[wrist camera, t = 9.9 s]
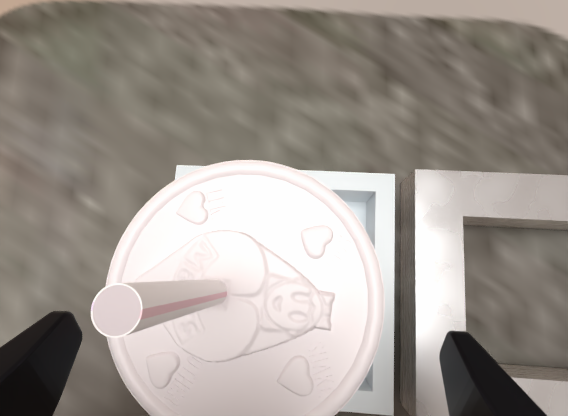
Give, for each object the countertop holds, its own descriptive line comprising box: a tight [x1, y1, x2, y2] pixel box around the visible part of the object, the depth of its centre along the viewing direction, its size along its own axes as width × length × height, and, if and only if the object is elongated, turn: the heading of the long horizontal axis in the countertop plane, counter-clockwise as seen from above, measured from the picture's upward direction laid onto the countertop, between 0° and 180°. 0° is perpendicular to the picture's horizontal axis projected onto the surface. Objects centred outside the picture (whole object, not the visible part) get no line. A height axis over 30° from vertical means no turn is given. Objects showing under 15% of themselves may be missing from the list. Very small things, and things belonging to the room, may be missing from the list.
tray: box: [175, 165, 395, 416], centre depth 17 cm, size 10×10×3 cm
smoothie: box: [91, 160, 385, 416], centre depth 11 cm, size 6×6×14 cm
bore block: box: [400, 169, 568, 416], centre depth 16 cm, size 10×10×2 cm
